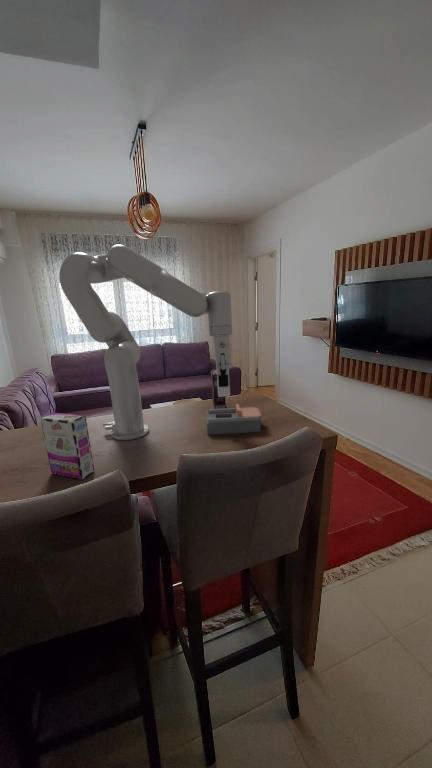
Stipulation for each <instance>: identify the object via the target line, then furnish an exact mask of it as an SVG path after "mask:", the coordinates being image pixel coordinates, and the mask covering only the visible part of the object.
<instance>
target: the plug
mask: <svg viewBox="0 0 432 768" xmlns="http://www.w3.org/2000/svg"><path fill="white" fill-rule="evenodd" d="M220 359H221V357H220ZM220 366H221V364H220ZM225 366H226V364H225ZM215 367H216V369H217V385H218V397H225V398H226V397H231V386H230V381H231V380H230V366H229V365H228V364H227V375H228V387H219V379H218V375H219V367H218V366H217V365H216V366H215ZM220 369H221V368H220Z"/></svg>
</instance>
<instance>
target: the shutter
mask: <svg viewBox="0 0 432 768" xmlns="http://www.w3.org/2000/svg"><path fill="white" fill-rule="evenodd" d="M235 408H236V414H237V417H252V416H259V419H260V420H261V419H262V414H261V412H260V409H259V408H258V407H255V408H247V407H243V408H244V409H240V408H241V407H240V405H239V403H235Z"/></svg>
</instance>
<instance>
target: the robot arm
mask: <svg viewBox="0 0 432 768" xmlns="http://www.w3.org/2000/svg"><path fill="white" fill-rule="evenodd" d="M59 268H60V269H59V274H58V275H59V276H58V277H59V283H60V287H61V289H62V291H63V294H64V295H65V297H66V299H67V300H68V302H69V303H70V305H71V306H72V308H73V309H74V312H75V313H76V314H77V316H78V318H79V320H80V322H82V324H83V326H84V327H85V328H86V331H87V332H88V334H89V335H90V337H91V338H92V339H93V340H94V341H96V342H97V343H101V344H104V343H106V345H107V347H108V348H107V349H106V352H104V353H105V354H104V357H103V362H104V368H105V372H106V375H107V379H108V384H109V385H108V386H109V391H110V392H109V393H110V397H111V405H112V411H113V421H112V422H110V421H109V422H103V424H102V427H103V429H104V430H105V431H109V430H110V431H111V438H113V439H114V440H118V441H132V440H135V439H136V440H137V439H139V438H141V437H143V436H145V435H147V434H148V433H149V426H148V425H147V424H145V423H144V417H143V407H142V398H141V391H140V389H141V388H140V382H139V376H138V370H137V366H136V365H137V363H138V362H139V360H140V358H141V348H140V346H139V344H138V343H137V341H136V339H135V337H134V336H133V334H132V332H131V331H130V329H129V328H128V326H127V324H126V322H125V321H124V320H123V319H122V317H120V315H118V314H117V313H115V312H113V311H109V310H108V309H107V307H106V306H105V304H104V303H103V301H102V298H100V296H99V294H98V293H97V292H96V291H95V290H94V288H93V287H92V284H94V285H95V284H96V285H97V284H101V283H102V284H103V283H106V282H110V281H115V280H119V279H126V280H128V281H129V282H131V283H132V284H135V285H136V286H137V287H140V288H141V289H142V290H144V291H146V292H148V293H149V294H151V295H152V296H154V297H155V298H156V297H157V298H158V299H160V300H162V301H163V302H165V303H167V304H168V305H170V306H171V307H174V308H175V309H177V310H179V311H180V312H182V313H183V314H185V315H187V316H189V317H191V318H198V317H201V316H203V315H207V316H208V318H207V319H208V335H209V337H212V339H213V351H214V353H213V354H214V359H215V364H216V365H217V366H218V367H219V375H218V379H219V387H228V375H227V364H228V365H229V367H232V354H231V353H232V352H231V340H230V336H232V335H233V322H232V321H233V317H232V297H231V293H230V292H229V291H226V290H221V291H219V290H218V291H211V292H200V291H198V290H196V289H195V288H193V287H191V286H189V285H188V284H187V283H185V282H184V281H181V280H180V279H178V278H176V277H175V276H174V275H172V274H170V272H168V271H167V270H166V269H165V268H163V267H161V265H158V264H156V262H153V261H152V260H150V259H148V258H146V257H145V256H144V255H141V254H140V253H139V252H136V250H133V249H132V248H130V247H128V246H127V245H123V244H115V245H112V246H111V247H110V249H108V251H107V253H104V254H98V255H95V256H93V255H92V254H89V253H86V252H80V251H77V252H76V251H75V252H72V253H70V254H68V255H67V256H66V257H65V258H64V259H63V261H62V263H61V265H60V267H59ZM220 357H221V359H220ZM220 364H221V366H220ZM225 364H226V366H225ZM220 368H221V369H220Z"/></svg>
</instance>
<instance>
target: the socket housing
mask: <svg viewBox="0 0 432 768" xmlns="http://www.w3.org/2000/svg"><path fill="white" fill-rule="evenodd" d="M244 408H245V407H240V409H244ZM246 408H256V407H255V406H250V407H249V406H248V407H246ZM261 425H262V424H261V418H260V419H259V416H252V417H237V414H236V407H232V408H230V407H228V408H226V409H214V408H212V409H211V408H210V409H207V412H206V431H207V435H224V434H225V435H228V434H243V433H245V434H246V433H259V432H261V431H262V430H261V429H262V427H261Z"/></svg>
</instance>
